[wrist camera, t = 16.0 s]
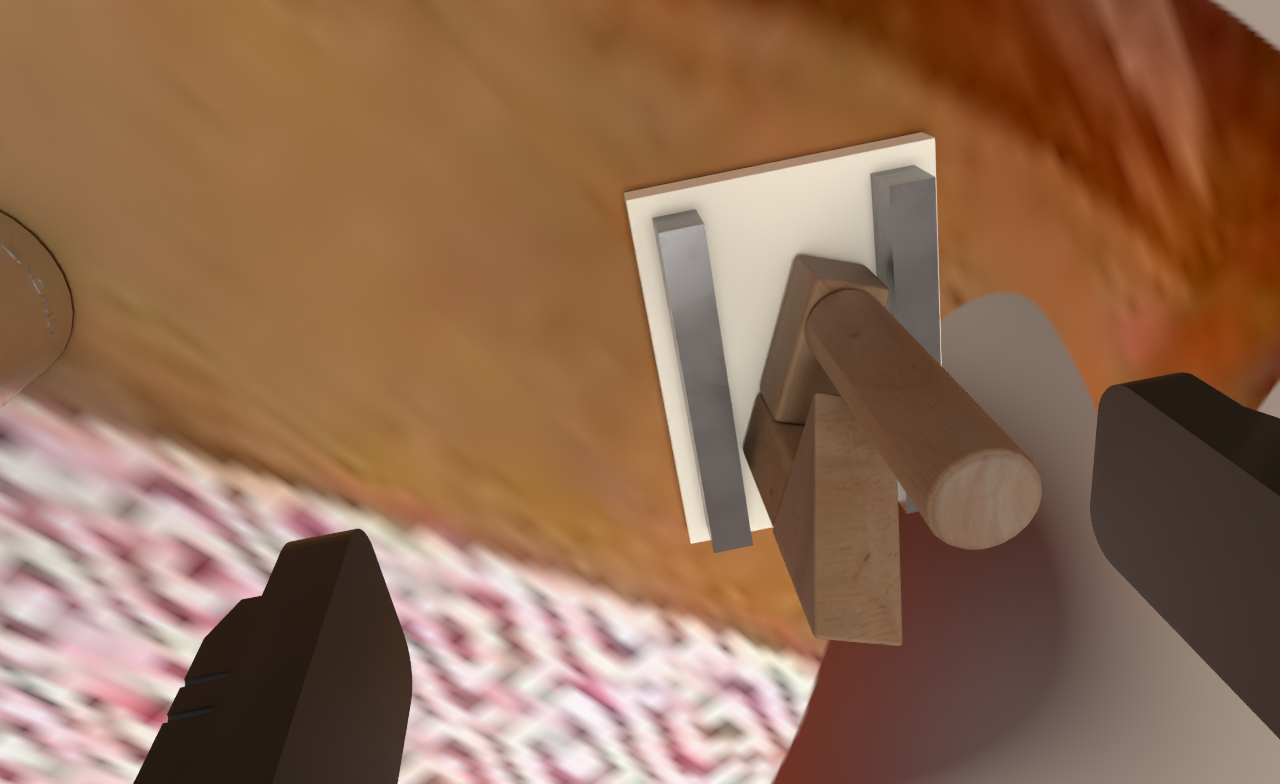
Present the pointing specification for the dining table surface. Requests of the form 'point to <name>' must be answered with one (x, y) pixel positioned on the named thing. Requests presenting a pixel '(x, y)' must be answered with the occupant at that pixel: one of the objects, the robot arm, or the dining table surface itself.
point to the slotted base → (769, 294)
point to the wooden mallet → (870, 452)
